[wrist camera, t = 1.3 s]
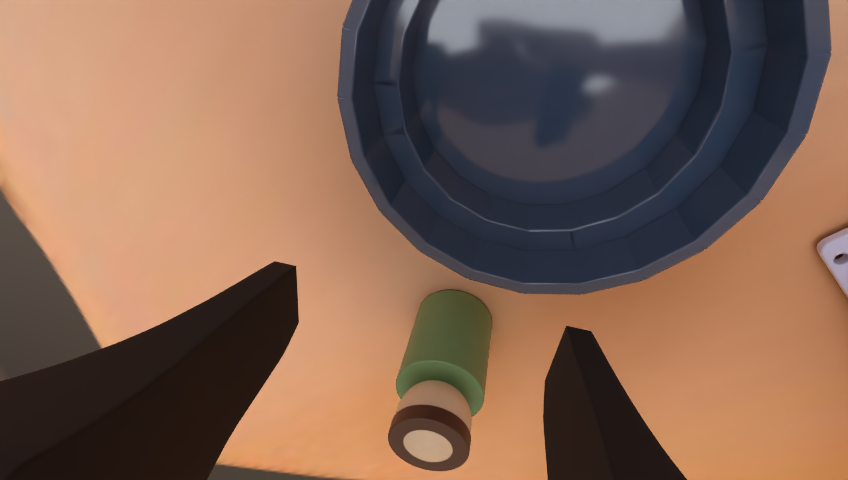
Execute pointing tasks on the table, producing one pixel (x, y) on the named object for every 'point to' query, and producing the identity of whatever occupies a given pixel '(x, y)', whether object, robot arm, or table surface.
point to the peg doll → (441, 381)
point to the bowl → (575, 127)
